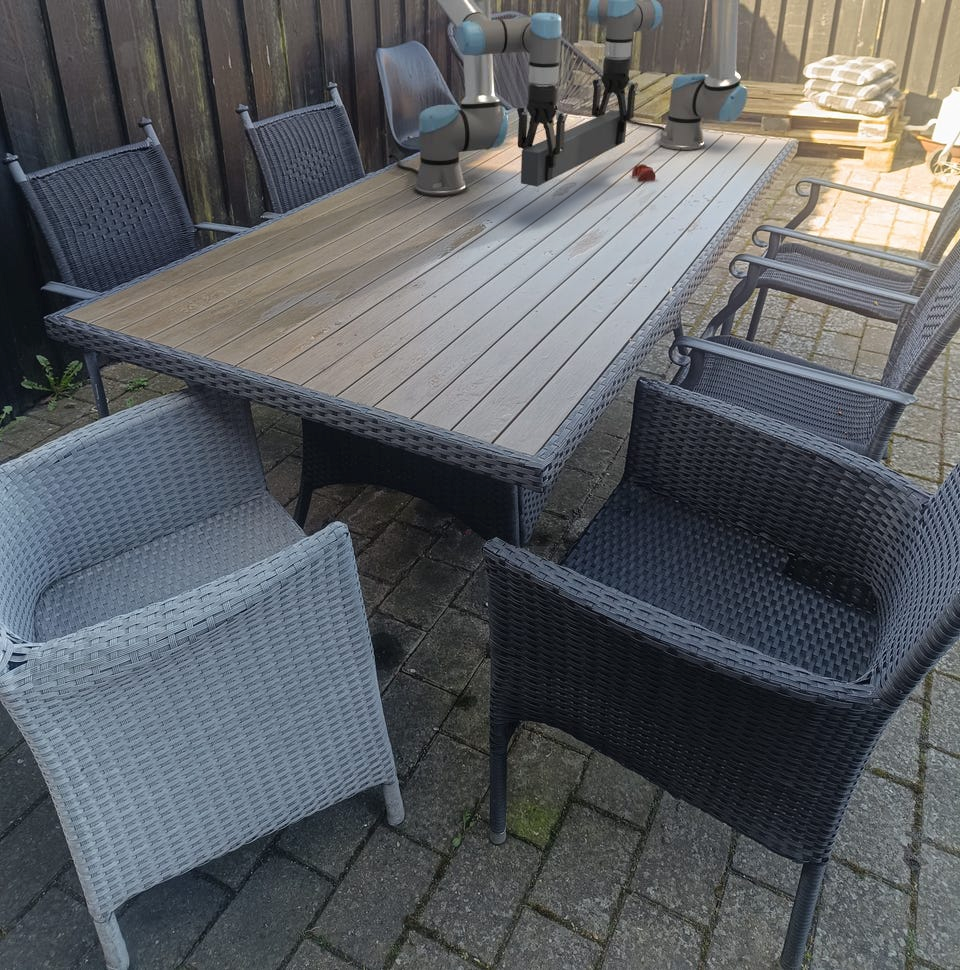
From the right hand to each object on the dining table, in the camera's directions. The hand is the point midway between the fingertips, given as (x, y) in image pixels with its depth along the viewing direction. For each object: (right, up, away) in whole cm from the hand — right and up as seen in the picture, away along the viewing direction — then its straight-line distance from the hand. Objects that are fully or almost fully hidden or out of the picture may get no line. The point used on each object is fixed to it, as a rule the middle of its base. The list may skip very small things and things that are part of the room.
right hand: (610, 142), depth 255 cm
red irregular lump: (+13, -6, +13) cm, 19 cm away
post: (-12, -11, -14) cm, 22 cm away
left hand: (-24, -21, -29) cm, 43 cm away
